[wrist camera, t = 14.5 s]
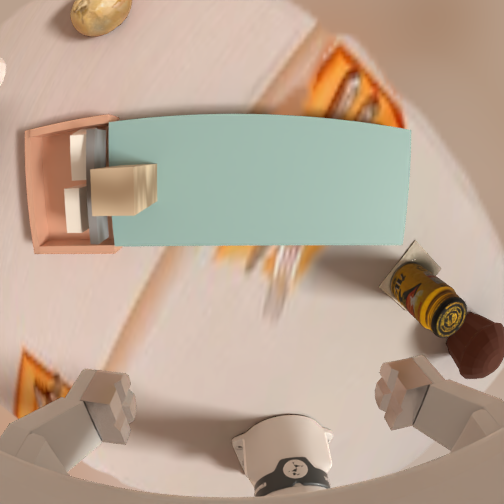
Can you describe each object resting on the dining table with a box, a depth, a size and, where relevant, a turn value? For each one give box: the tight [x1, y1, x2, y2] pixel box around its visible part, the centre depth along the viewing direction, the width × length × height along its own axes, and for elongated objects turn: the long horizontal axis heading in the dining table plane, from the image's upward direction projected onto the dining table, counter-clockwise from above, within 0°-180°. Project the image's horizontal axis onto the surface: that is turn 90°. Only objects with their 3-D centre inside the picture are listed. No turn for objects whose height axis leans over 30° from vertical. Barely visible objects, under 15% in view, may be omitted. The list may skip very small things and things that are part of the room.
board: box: [109, 114, 411, 246], centre depth 34 cm, size 14×34×4 cm, turn 89°
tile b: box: [70, 127, 97, 181], centre depth 30 cm, size 5×5×2 cm
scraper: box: [86, 129, 157, 244], centre depth 27 cm, size 12×7×8 cm, turn 177°
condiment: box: [379, 240, 467, 338], centre depth 35 cm, size 7×8×12 cm
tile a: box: [64, 184, 89, 233], centre depth 32 cm, size 5×5×2 cm
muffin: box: [446, 312, 504, 379], centre depth 40 cm, size 12×11×10 cm
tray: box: [25, 114, 123, 254], centre depth 33 cm, size 16×12×4 cm
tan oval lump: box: [70, 0, 132, 36], centre depth 24 cm, size 8×8×7 cm
